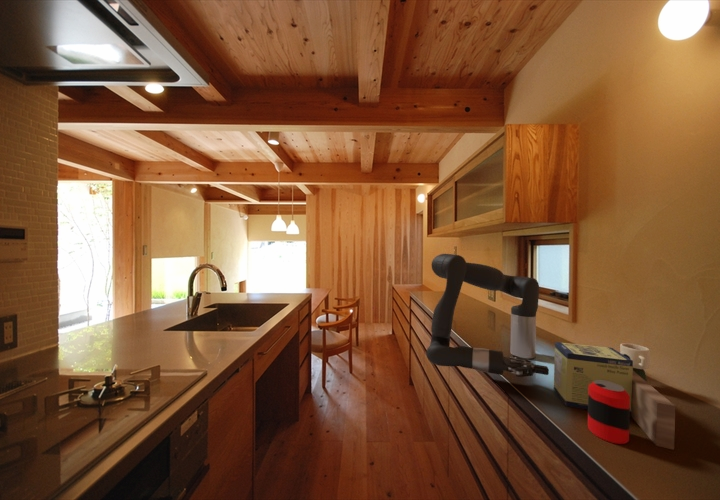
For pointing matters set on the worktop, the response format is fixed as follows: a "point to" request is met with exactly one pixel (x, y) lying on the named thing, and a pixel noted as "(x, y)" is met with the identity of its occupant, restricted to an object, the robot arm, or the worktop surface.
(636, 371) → the character mug
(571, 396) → the protein box
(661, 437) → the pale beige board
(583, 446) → the worktop surface
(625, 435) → the soda can
